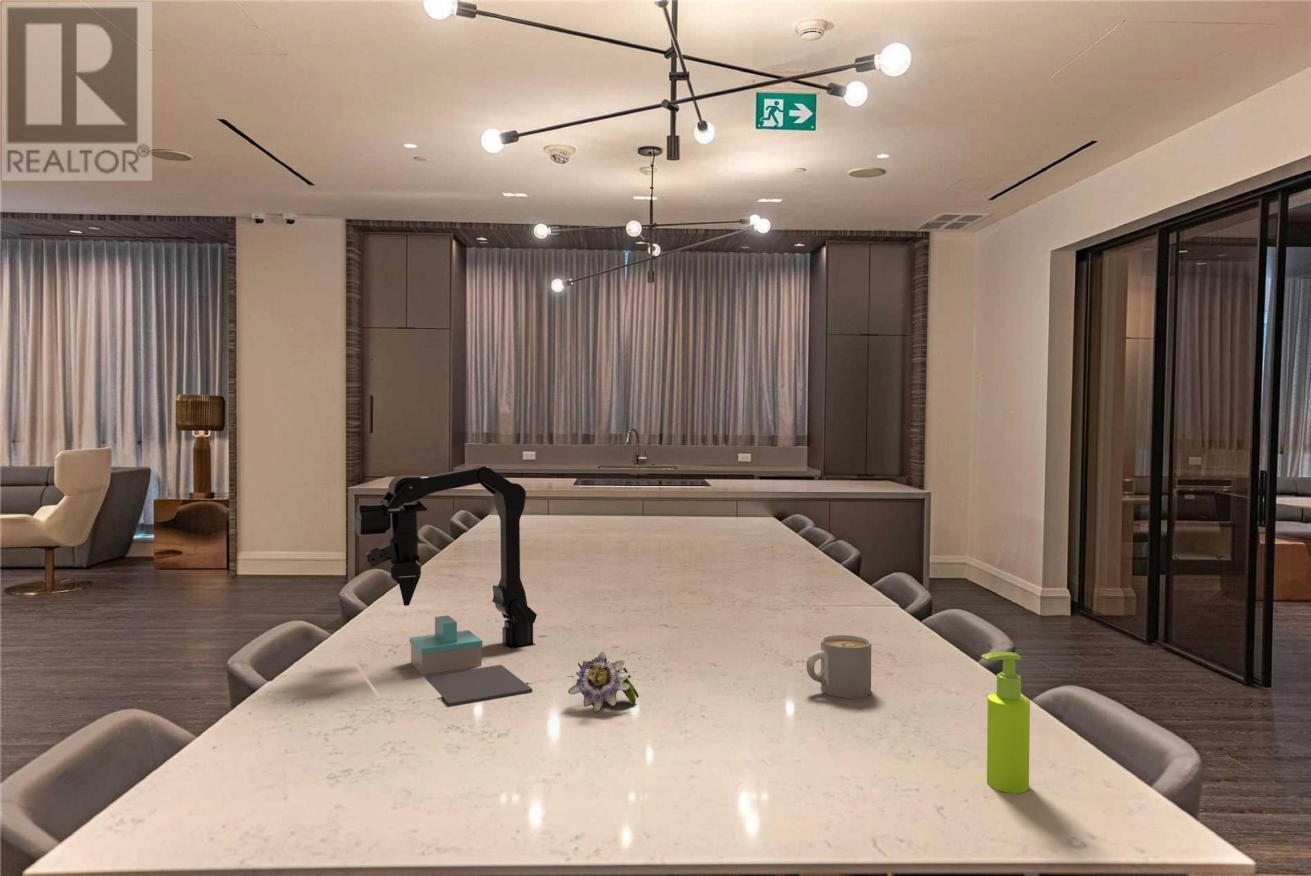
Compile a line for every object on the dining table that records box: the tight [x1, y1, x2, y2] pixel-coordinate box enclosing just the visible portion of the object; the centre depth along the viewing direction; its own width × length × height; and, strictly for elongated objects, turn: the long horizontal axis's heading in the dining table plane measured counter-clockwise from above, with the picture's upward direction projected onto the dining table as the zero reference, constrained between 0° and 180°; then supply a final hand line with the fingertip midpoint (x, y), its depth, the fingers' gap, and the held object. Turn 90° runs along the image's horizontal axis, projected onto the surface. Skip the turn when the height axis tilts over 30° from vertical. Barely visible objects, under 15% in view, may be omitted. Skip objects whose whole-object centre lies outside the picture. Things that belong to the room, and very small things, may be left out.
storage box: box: [410, 644, 482, 676], centre depth 187 cm, size 13×10×5 cm
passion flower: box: [567, 650, 640, 713], centre depth 163 cm, size 11×11×12 cm
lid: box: [409, 615, 484, 654], centre depth 186 cm, size 13×10×6 cm
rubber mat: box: [423, 664, 533, 707], centre depth 174 cm, size 17×19×1 cm
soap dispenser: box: [980, 651, 1031, 794], centre depth 127 cm, size 6×7×20 cm
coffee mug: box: [806, 634, 872, 699], centre depth 171 cm, size 13×10×10 cm
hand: (406, 601), depth 189 cm, fingers open, 9 cm apart
